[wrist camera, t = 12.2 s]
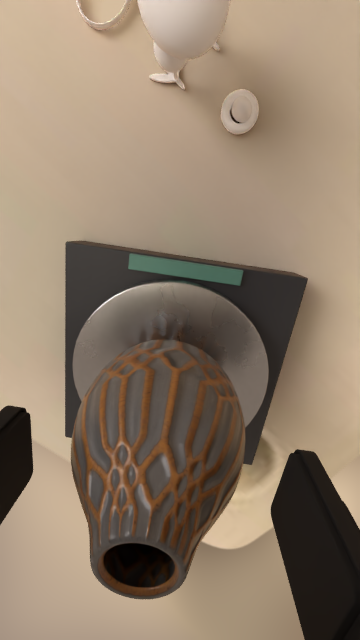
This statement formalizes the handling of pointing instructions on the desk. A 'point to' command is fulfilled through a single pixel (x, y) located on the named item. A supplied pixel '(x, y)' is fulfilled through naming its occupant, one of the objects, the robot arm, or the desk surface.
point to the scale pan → (175, 334)
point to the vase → (155, 463)
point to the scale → (226, 278)
